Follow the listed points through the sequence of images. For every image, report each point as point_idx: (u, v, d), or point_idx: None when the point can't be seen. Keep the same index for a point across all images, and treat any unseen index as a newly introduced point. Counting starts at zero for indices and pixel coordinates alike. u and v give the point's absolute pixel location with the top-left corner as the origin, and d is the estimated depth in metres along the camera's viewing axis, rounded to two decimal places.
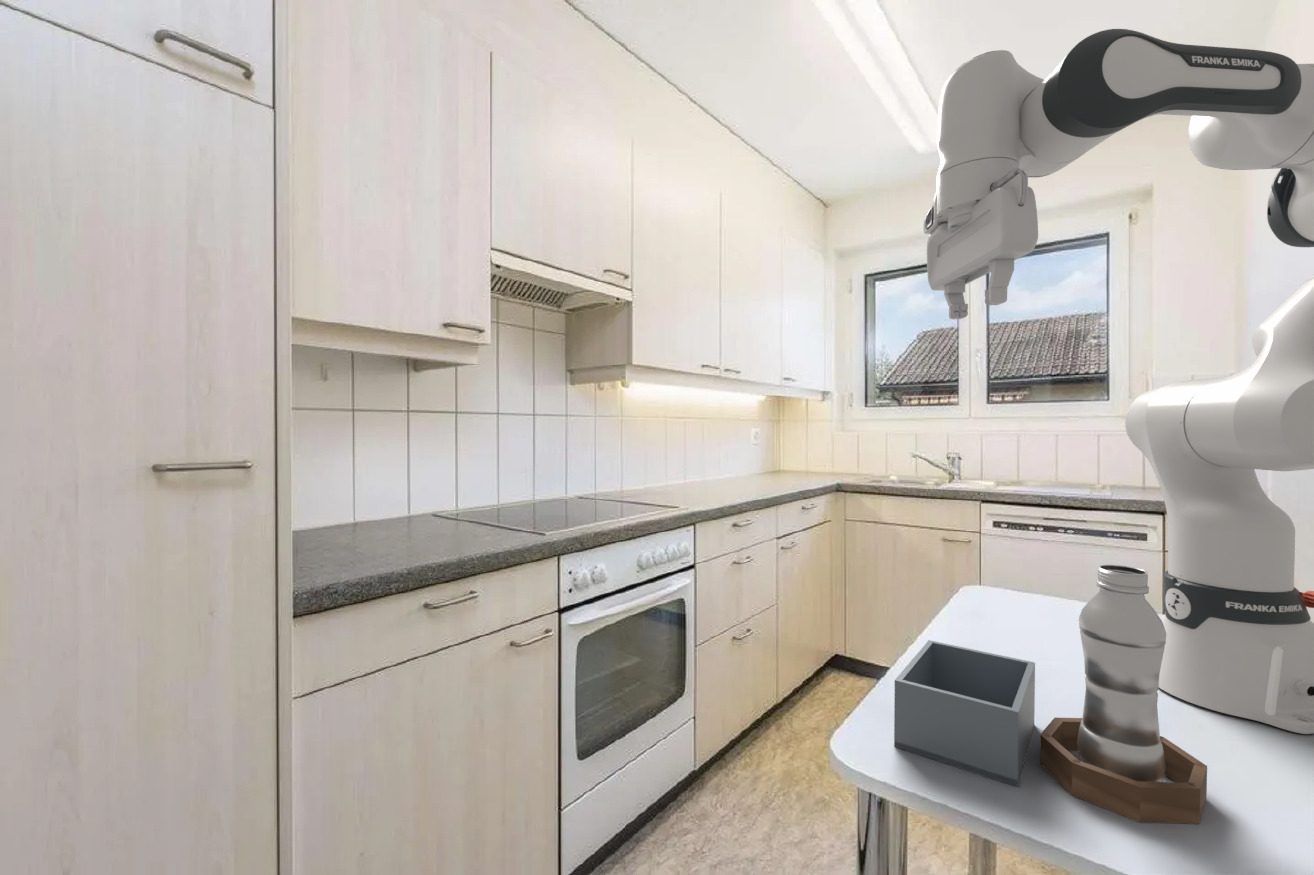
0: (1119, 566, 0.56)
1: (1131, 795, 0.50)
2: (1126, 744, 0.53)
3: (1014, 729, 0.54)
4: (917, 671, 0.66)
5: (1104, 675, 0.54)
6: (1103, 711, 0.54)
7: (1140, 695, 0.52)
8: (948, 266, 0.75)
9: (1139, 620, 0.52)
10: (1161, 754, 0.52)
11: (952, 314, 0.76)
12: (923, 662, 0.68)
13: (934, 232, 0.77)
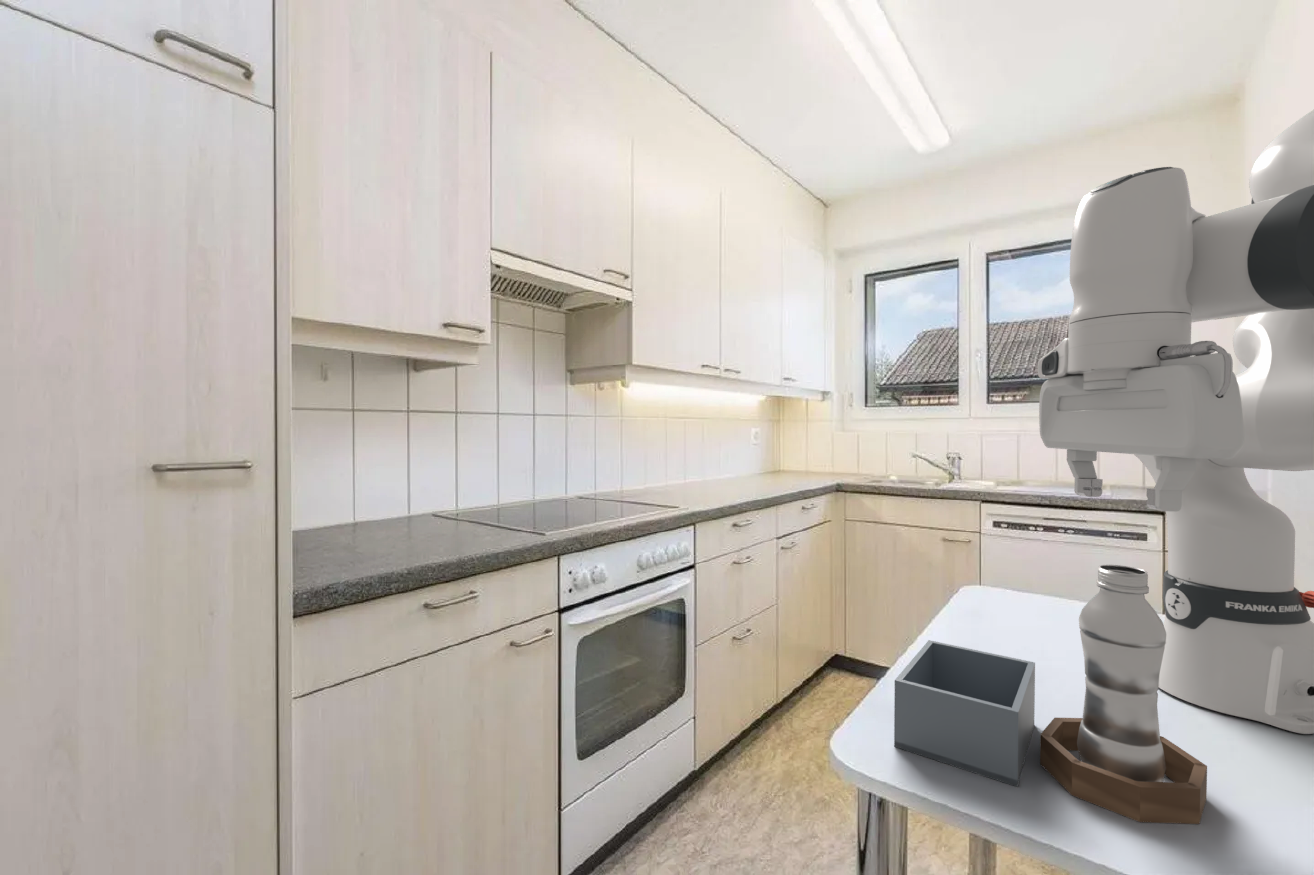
0: (1119, 566, 0.56)
1: (1131, 795, 0.50)
2: (1126, 744, 0.53)
3: (1014, 729, 0.54)
4: (917, 671, 0.66)
5: (1104, 675, 0.54)
6: (1103, 711, 0.54)
7: (1140, 695, 0.52)
8: (1079, 432, 0.58)
9: (1139, 620, 0.52)
10: (1161, 754, 0.52)
11: (1081, 491, 0.59)
12: (923, 662, 0.68)
13: (1056, 382, 0.60)
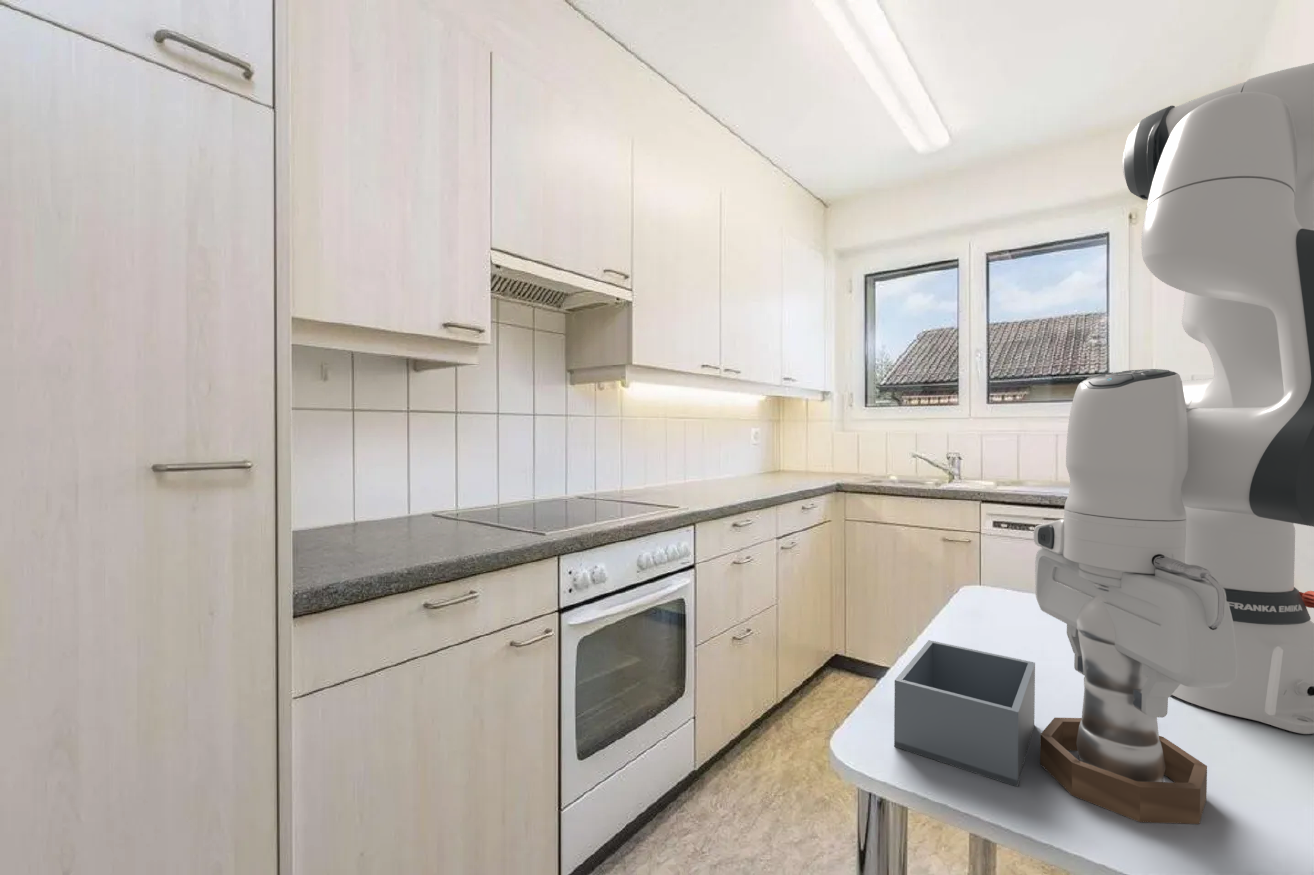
0: None
1: (1131, 795, 0.50)
2: (1125, 745, 0.53)
3: (1014, 729, 0.54)
4: (917, 671, 0.66)
5: (1102, 676, 0.54)
6: (1101, 712, 0.54)
7: None
8: (1074, 611, 0.58)
9: None
10: (1160, 754, 0.52)
11: (1081, 670, 0.58)
12: (923, 662, 0.68)
13: (1052, 555, 0.60)
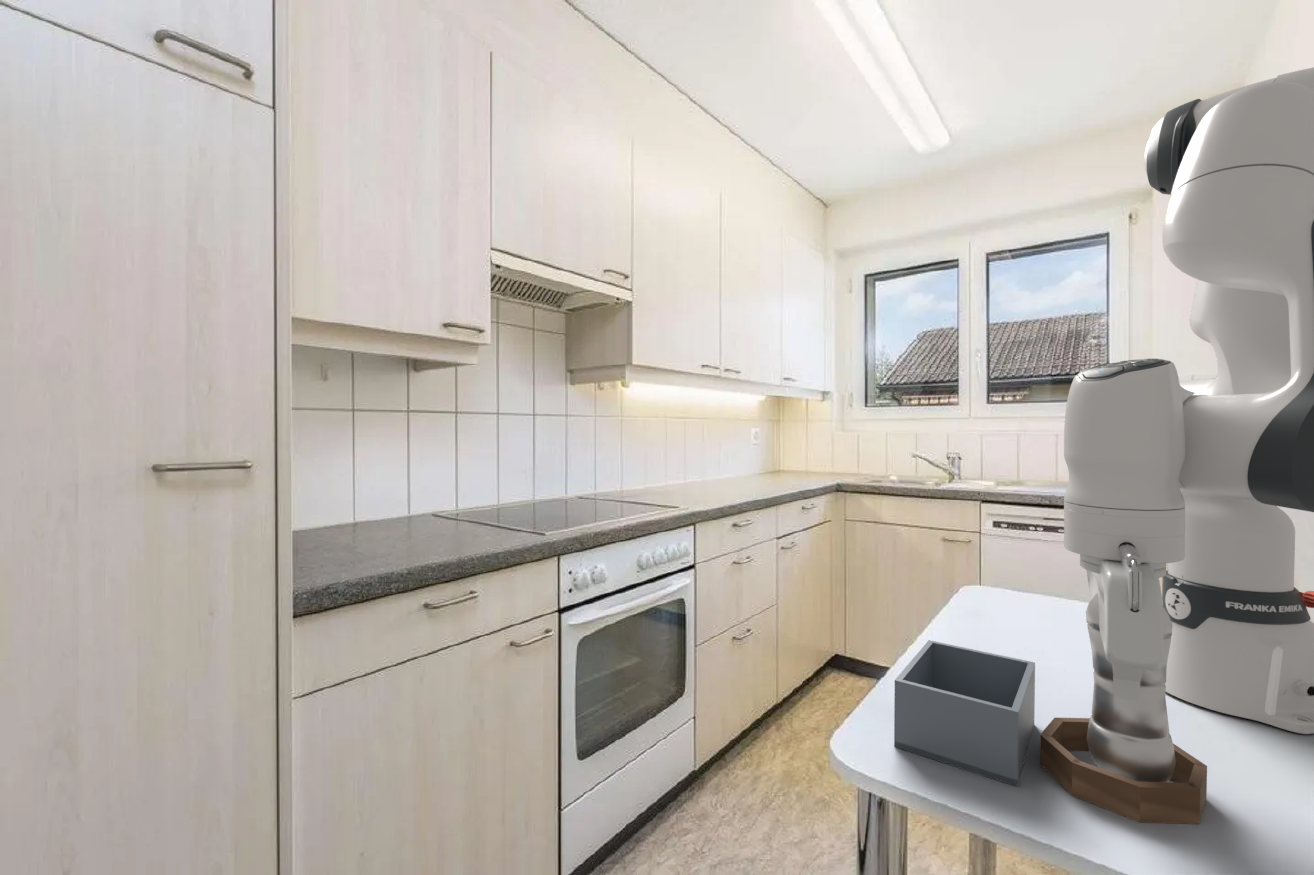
0: None
1: (1131, 795, 0.50)
2: (1117, 733, 0.53)
3: (1014, 729, 0.54)
4: (917, 671, 0.66)
5: (1099, 663, 0.55)
6: (1100, 699, 0.55)
7: None
8: None
9: None
10: (1160, 750, 0.51)
11: None
12: (923, 662, 0.68)
13: None
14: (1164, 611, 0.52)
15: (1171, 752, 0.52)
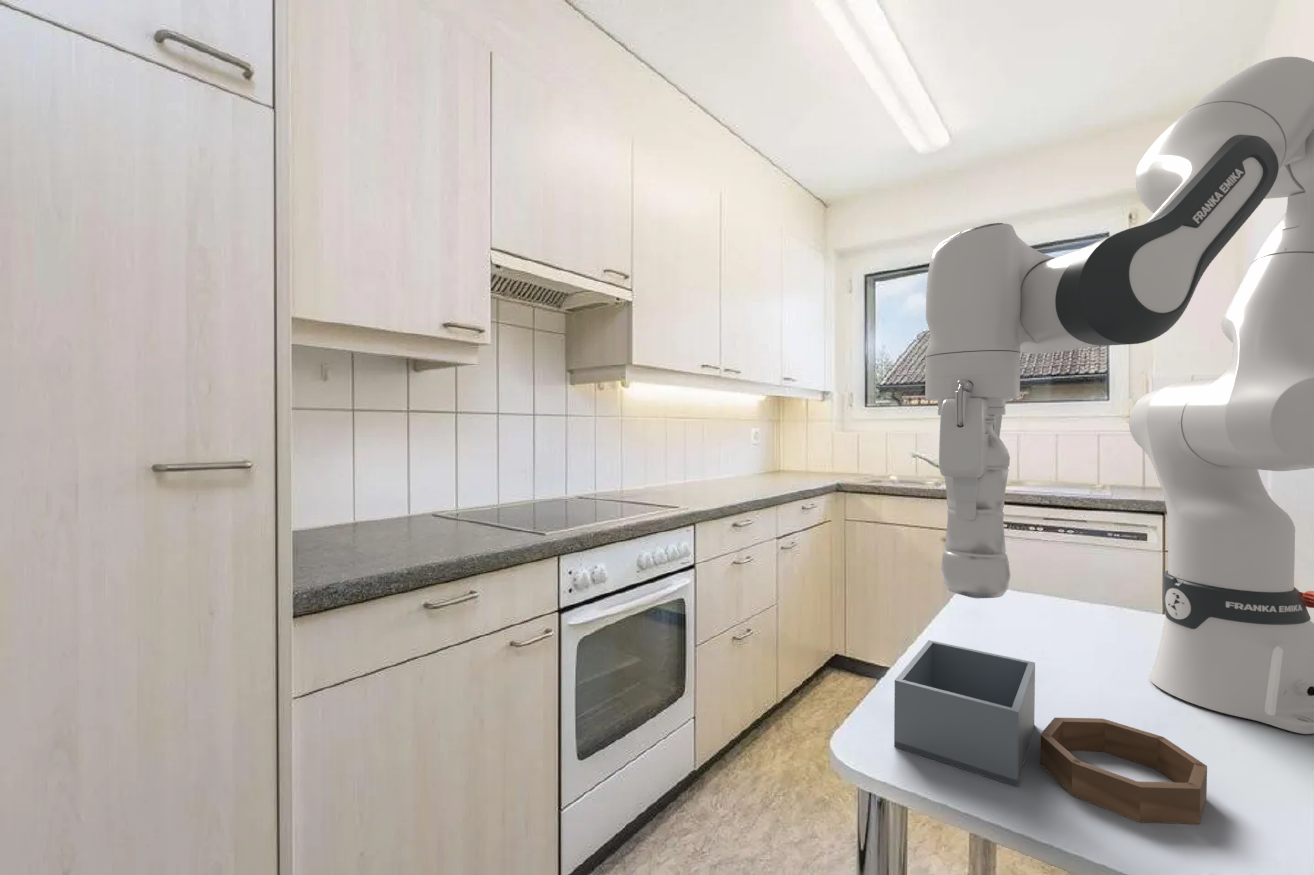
0: None
1: (1131, 795, 0.50)
2: (961, 553, 0.60)
3: (1014, 729, 0.54)
4: (917, 671, 0.66)
5: (949, 496, 0.62)
6: (950, 529, 0.62)
7: None
8: None
9: None
10: (994, 564, 0.59)
11: None
12: (923, 662, 0.68)
13: None
14: (1002, 445, 0.60)
15: (1004, 567, 0.59)
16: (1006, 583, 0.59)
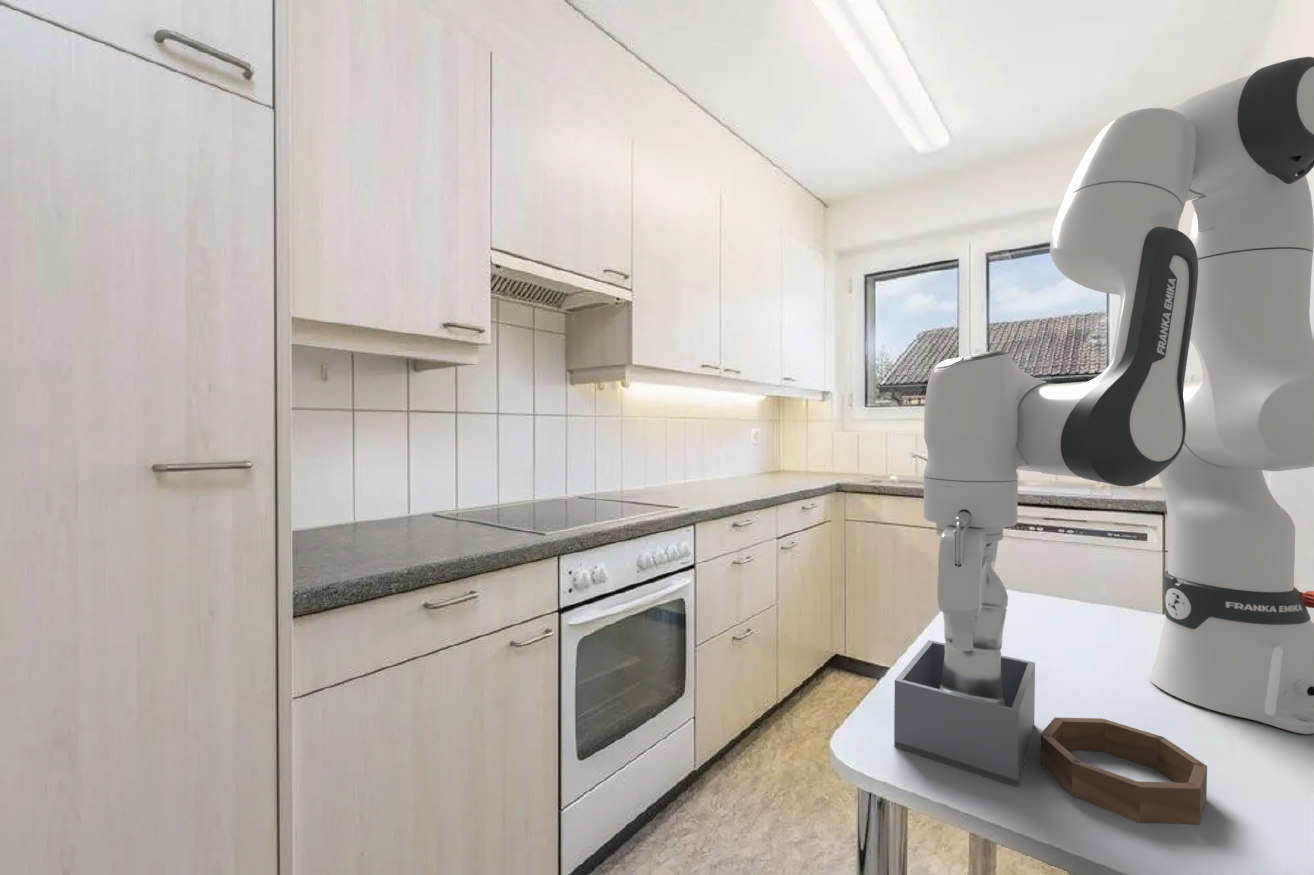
0: None
1: (1131, 795, 0.50)
2: (957, 692, 0.59)
3: (1014, 729, 0.54)
4: (917, 671, 0.66)
5: (947, 630, 0.62)
6: (946, 664, 0.61)
7: None
8: None
9: None
10: None
11: None
12: (923, 662, 0.68)
13: None
14: (1000, 584, 0.60)
15: None
16: None
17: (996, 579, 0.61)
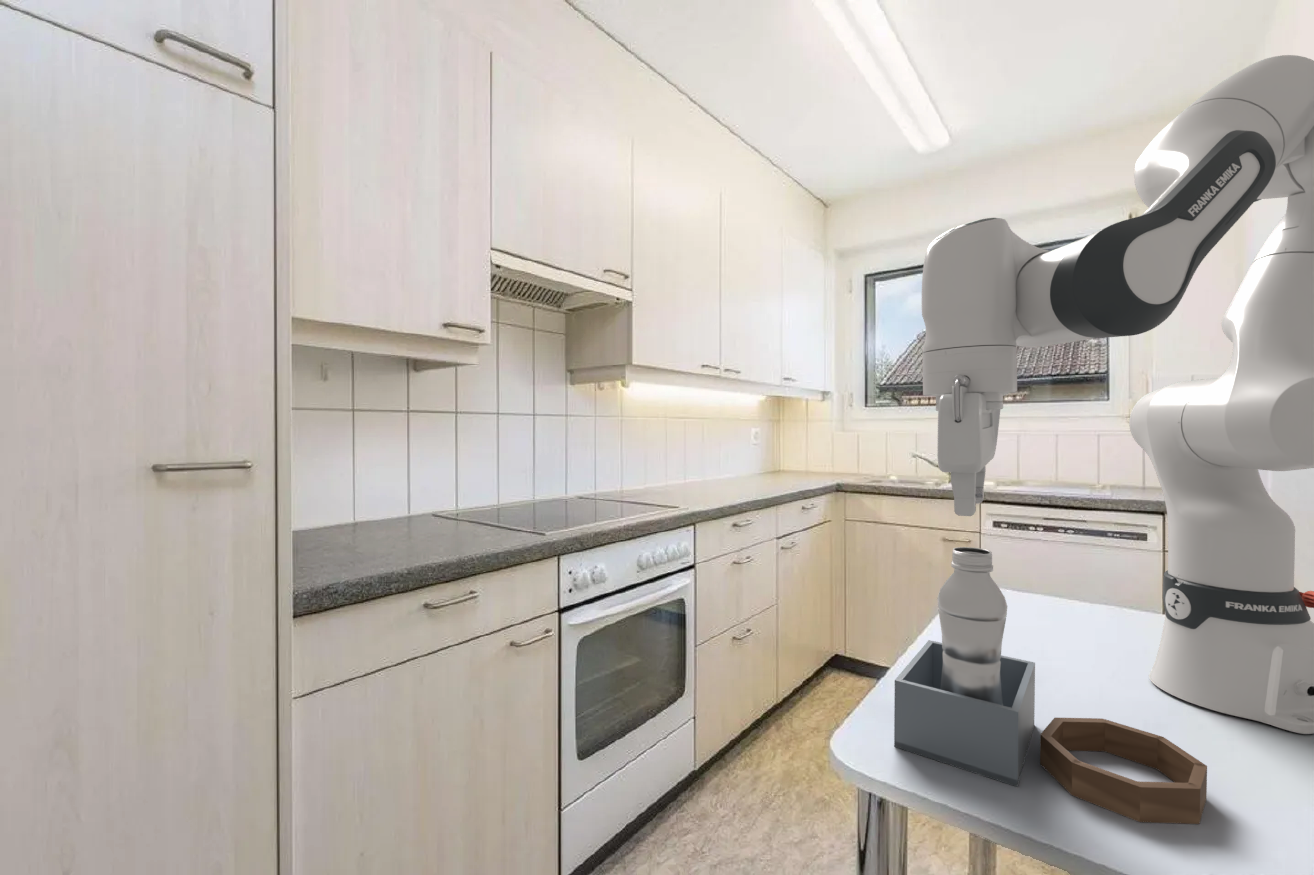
0: (981, 549, 0.61)
1: (1131, 795, 0.50)
2: None
3: (1014, 729, 0.54)
4: (917, 671, 0.66)
5: (944, 642, 0.60)
6: (945, 675, 0.60)
7: (969, 662, 0.58)
8: None
9: (967, 595, 0.58)
10: None
11: None
12: (923, 662, 0.68)
13: None
14: (999, 596, 0.58)
15: None
16: None
17: (994, 591, 0.58)
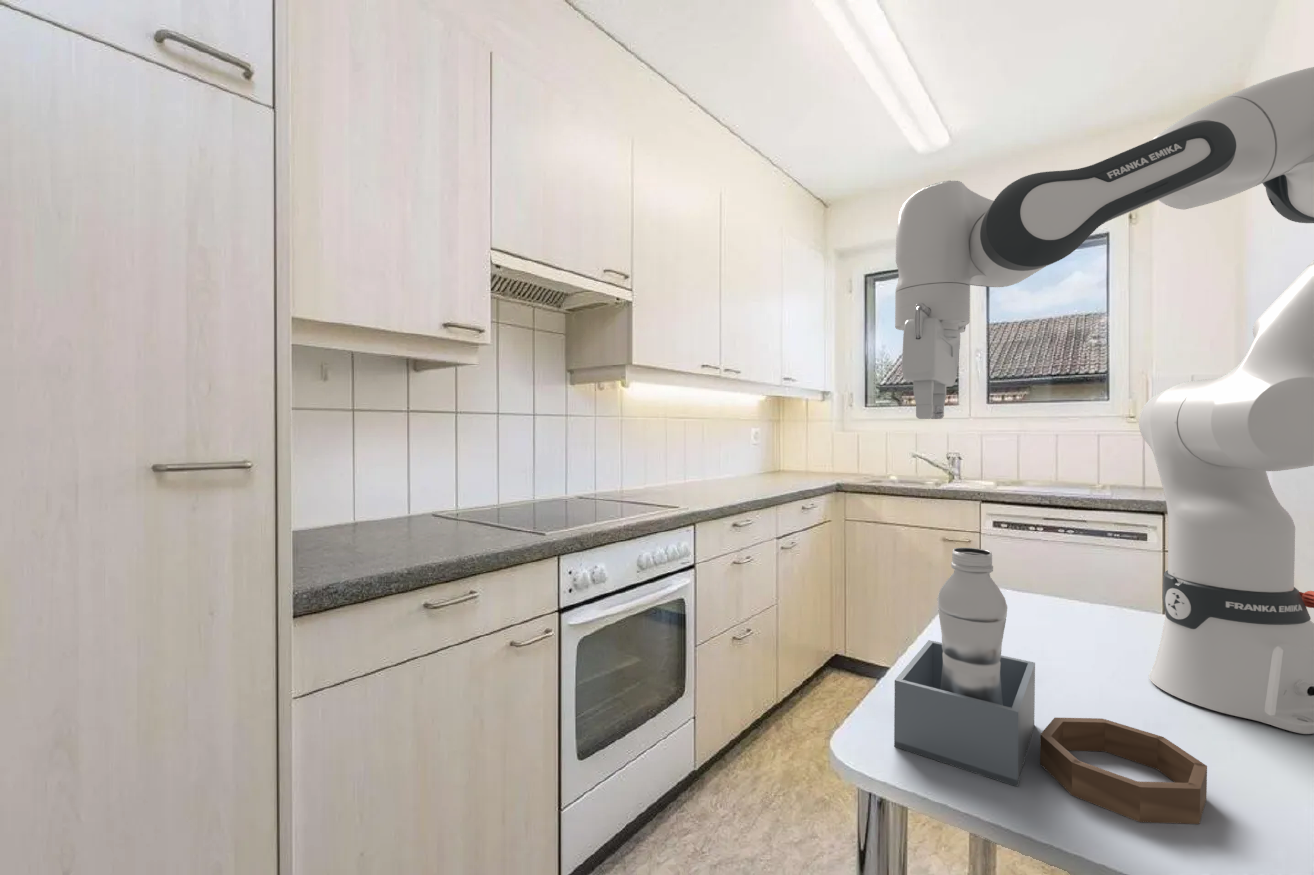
0: (981, 550, 0.60)
1: (1131, 795, 0.50)
2: None
3: (1014, 729, 0.54)
4: (917, 671, 0.66)
5: (944, 643, 0.60)
6: (945, 676, 0.60)
7: (969, 663, 0.58)
8: None
9: (967, 595, 0.58)
10: None
11: None
12: (923, 662, 0.68)
13: None
14: (999, 597, 0.57)
15: None
16: None
17: (994, 592, 0.58)
